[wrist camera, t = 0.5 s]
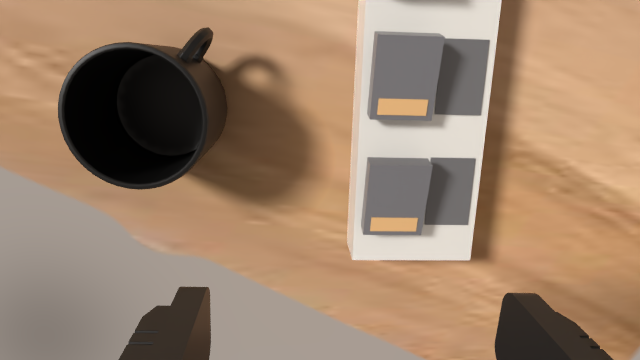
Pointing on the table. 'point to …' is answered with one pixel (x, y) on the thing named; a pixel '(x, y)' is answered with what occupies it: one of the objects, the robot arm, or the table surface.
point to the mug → (142, 111)
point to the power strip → (428, 125)
